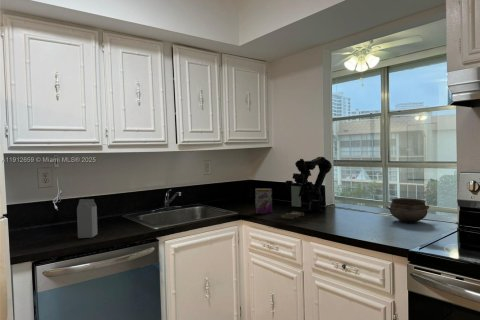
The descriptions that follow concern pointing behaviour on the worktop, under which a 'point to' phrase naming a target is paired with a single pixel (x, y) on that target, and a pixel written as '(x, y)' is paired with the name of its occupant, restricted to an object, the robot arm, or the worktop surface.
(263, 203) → the candy bar box
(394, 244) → the worktop surface
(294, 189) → the panel
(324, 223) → the worktop surface
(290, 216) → the rack
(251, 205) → the worktop surface
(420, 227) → the worktop surface
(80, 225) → the milk carton
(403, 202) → the cooking pot
